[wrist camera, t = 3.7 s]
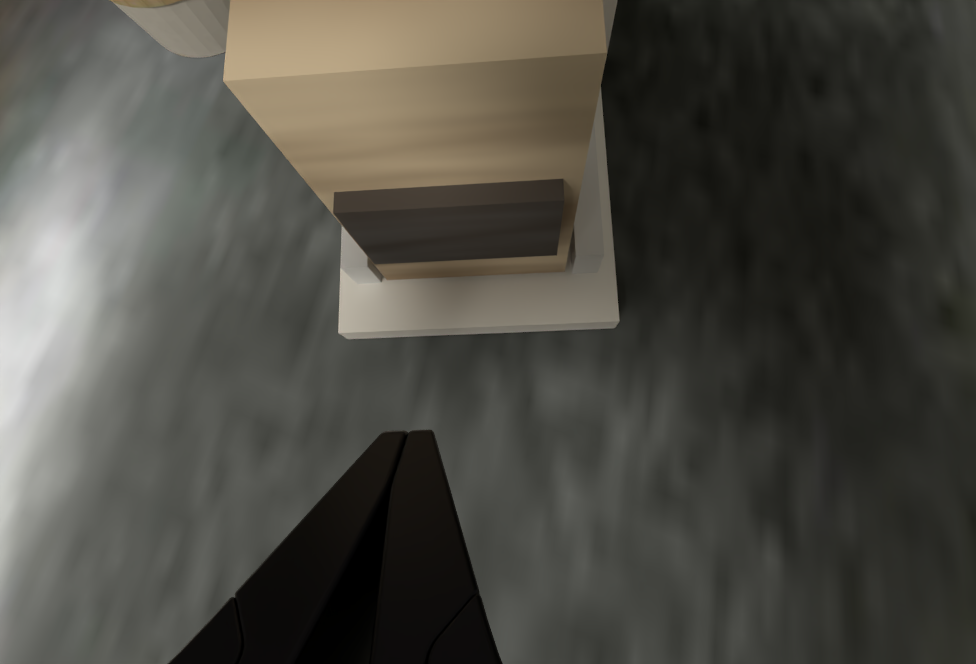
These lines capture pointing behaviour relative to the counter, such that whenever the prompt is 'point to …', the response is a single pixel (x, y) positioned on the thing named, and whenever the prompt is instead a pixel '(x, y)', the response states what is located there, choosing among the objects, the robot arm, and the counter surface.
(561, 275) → the housing
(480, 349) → the counter surface
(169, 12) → the coffee cup
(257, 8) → the light wood block
